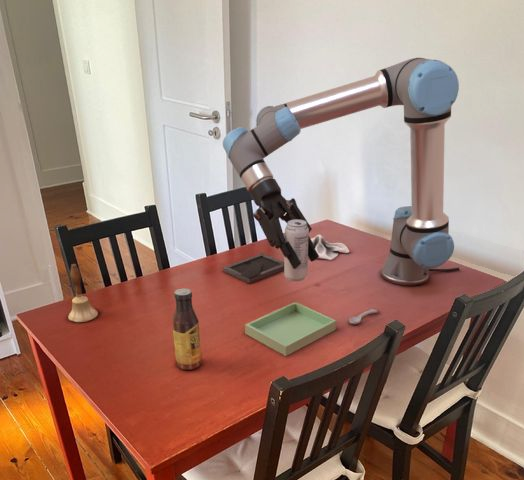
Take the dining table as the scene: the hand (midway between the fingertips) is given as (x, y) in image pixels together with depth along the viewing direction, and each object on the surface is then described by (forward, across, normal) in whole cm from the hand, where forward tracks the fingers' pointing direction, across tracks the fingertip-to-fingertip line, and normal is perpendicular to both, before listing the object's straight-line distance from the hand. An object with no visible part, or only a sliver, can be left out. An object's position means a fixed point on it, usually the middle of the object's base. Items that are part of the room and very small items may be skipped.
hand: (306, 262), depth 135 cm
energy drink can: (+1, 0, -6) cm, 7 cm away
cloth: (-12, -48, -41) cm, 64 cm away
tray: (+13, +3, -16) cm, 20 cm away
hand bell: (-22, +40, -50) cm, 67 cm away
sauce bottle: (+8, +33, -20) cm, 39 cm away
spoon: (+19, -17, -9) cm, 28 cm away
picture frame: (-14, -19, -42) cm, 48 cm away
